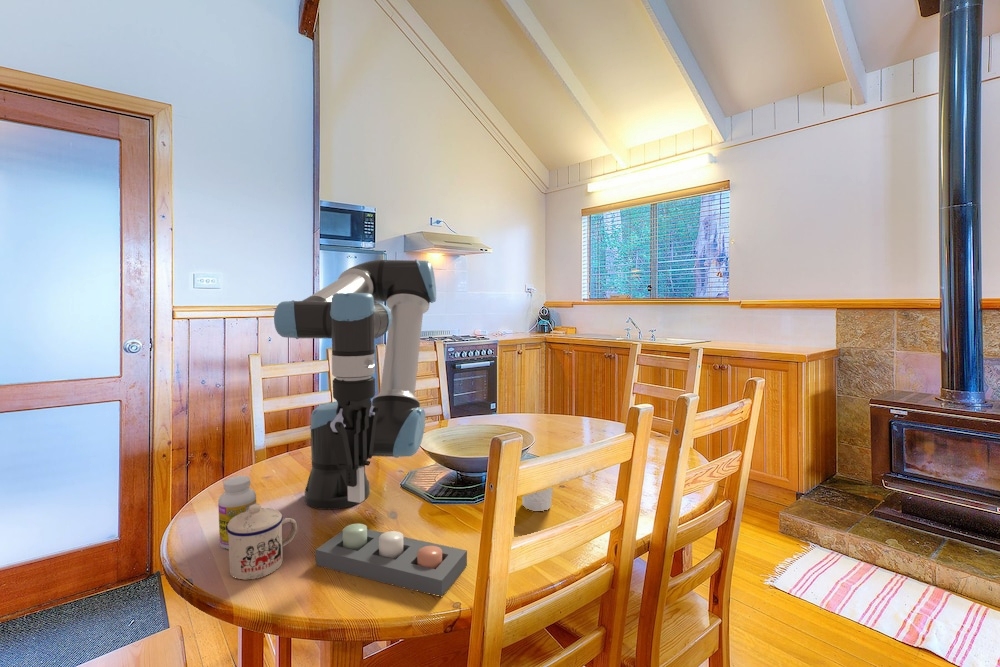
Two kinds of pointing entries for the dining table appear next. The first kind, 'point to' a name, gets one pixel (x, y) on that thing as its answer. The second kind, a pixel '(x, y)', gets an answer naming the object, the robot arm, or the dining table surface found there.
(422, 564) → the terracotta button
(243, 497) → the supplement bottle
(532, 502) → the white cup
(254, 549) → the teacup with lid
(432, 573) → the button console
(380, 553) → the cream button
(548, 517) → the dining table surface
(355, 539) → the sage button
